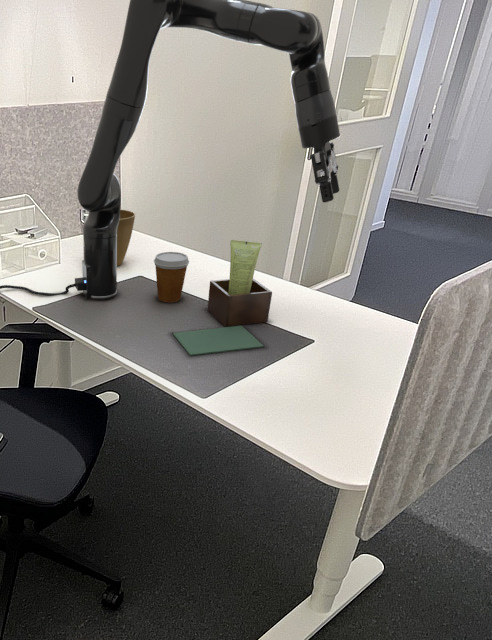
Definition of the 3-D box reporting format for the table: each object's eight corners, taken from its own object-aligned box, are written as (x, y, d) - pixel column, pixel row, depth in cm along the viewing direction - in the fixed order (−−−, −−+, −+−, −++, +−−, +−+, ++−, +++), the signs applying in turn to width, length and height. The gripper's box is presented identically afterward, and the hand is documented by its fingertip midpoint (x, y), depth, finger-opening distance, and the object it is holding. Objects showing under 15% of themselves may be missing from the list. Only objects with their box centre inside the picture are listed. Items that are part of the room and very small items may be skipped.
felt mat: (190, 356, 130) (190, 354, 129) (172, 334, 140) (172, 333, 139) (263, 347, 133) (263, 345, 132) (241, 326, 143) (241, 325, 142)
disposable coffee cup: (185, 305, 155) (188, 262, 149) (150, 303, 157) (152, 261, 151) (187, 293, 163) (190, 252, 157) (153, 291, 165) (155, 250, 159)
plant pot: (135, 270, 182) (136, 219, 173) (88, 270, 182) (87, 219, 174) (132, 256, 194) (133, 207, 186) (89, 256, 195) (88, 208, 186)
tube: (240, 310, 152) (250, 236, 142) (251, 317, 148) (262, 242, 138) (222, 313, 150) (230, 239, 140) (232, 320, 146) (242, 244, 136)
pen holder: (225, 326, 143) (228, 296, 139) (207, 309, 153) (210, 280, 149) (267, 321, 145) (272, 292, 141) (247, 305, 155) (251, 276, 150)
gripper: (304, 122, 126) (318, 195, 132) (291, 129, 115) (307, 209, 121) (340, 109, 122) (354, 185, 127) (330, 115, 111) (345, 198, 117)
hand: (331, 197), depth 124 cm, fingers open, 8 cm apart
